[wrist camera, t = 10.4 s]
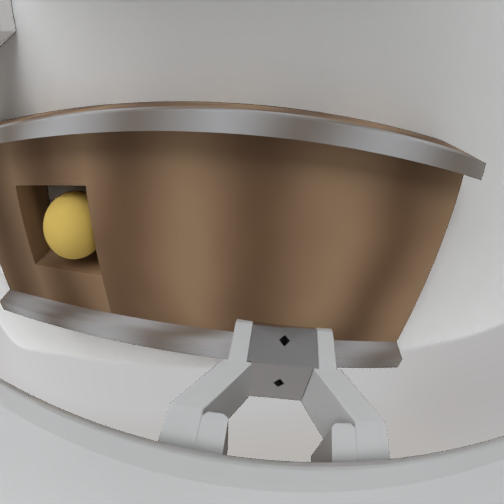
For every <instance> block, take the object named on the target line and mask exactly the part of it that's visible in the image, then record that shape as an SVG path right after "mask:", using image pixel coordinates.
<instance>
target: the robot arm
mask: <svg viewBox="0 0 504 504" xmlns="http://www.w3.org/2000/svg"><path fill="white" fill-rule="evenodd" d="M248 396H257V397H270V398H280V399H290V400H300V401H301V402H302V404H303V406H304V407H305V409H306V411H307V412H308V414H309V416H310V417H311V419H312V421H313V422H314V424H315V426H316V427H317V429H318V431H319V432H320V434H321V435H322V437H323V441H322V442H321V444H320V445H319V446H318V447H317V449H316V450H315V451H314V453H313V454H312V456H311V462H290V461H274V460H263V459H262V460H261V459H253V458H244V457H236V456H228V455H227V450H228V419H229V418H230V417H231V416H232V415H233V414H234V413H235V412H236V410H237V409H238V408H239V407H240V406H241V405H242V404H243V403H244V402H245V400H246V399H247V398H248ZM0 504H504V436H501V437H498V438H494V439H492V440H488V441H484V442H480V443H477V444H473V445H469V446H465V447H460V448H456V449H451V450H446V451H441V452H436V453H430V454H425V455H418V456H411V457H403V458H395V459H390V452H389V444H388V436H387V429H386V422H385V420H384V419H383V418H382V417H381V416H380V414H379V413H378V412H377V411H376V410H375V409H374V407H373V406H372V405H371V404H370V403H369V402H368V401H367V399H366V398H365V397H364V396H363V395H362V393H361V392H360V391H359V390H358V389H357V388H356V386H354V384H353V383H352V382H351V381H350V380H349V378H348V377H347V376H346V375H345V374H344V372H343V371H342V370H337V365H336V355H335V346H334V337H333V331H332V329H327V328H314V327H302V326H290V325H279V324H271V323H264V322H257V321H248V320H241V319H237V321H236V323H235V328H234V333H233V337H232V342H231V347H230V352H229V357H228V359H222V360H221V361H220V362H219V363H218V364H217V365H215V366H214V367H213V368H212V369H211V370H209V371H208V372H207V373H206V374H205V375H203V376H202V377H201V378H200V379H199V380H197V381H196V382H195V383H194V384H193V385H191V386H190V387H189V388H188V389H186V390H185V391H184V392H183V393H181V394H180V395H179V396H178V397H177V398H175V399H174V400H173V401H172V402H170V405H169V408H168V411H167V414H166V417H165V420H164V423H163V427H162V430H161V433H160V436H159V440H158V441H154V440H150V439H146V438H143V437H139V436H136V435H132V434H129V433H126V432H123V431H119V430H116V429H113V428H110V427H107V426H104V425H102V424H98V423H96V422H93V421H90V420H88V419H85V418H83V417H80V416H77V415H75V414H72V413H70V412H68V411H65V410H63V409H61V408H58V407H56V406H53V405H51V404H49V403H47V402H45V401H43V400H41V399H39V398H36V397H34V396H32V395H30V394H28V393H26V392H24V391H22V390H21V389H19V388H17V387H15V386H13V385H11V384H9V383H7V382H5V381H4V380H2V379H0Z"/></svg>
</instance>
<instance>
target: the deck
mask: <svg viewBox="0 0 504 504" xmlns="http://www.w3.org/2000/svg"><path fill="white" fill-rule="evenodd" d="M485 165H486V163H484V162H482V161H481V160H479V159H477V158H475V157H473V156H471V155H469V154H468V153H466V152H464V151H462V150H460V149H458V148H456V147H454V146H452V145H450V144H448V143H446V142H444V141H442V140H439V139H436V138H432V137H429V136H425V135H422V134H418V133H415V132H411V131H407V130H403V129H399V128H395V127H391V126H387V125H383V124H378V123H374V122H369V121H365V120H360V119H355V118H350V117H344V116H339V115H333V114H327V113H321V112H314V111H307V110H300V109H292V108H284V107H275V106H265V105H253V104H240V103H222V102H139V103H122V104H109V105H98V106H88V107H80V108H72V109H64V110H58V111H51V112H45V113H39V114H34V115H29V116H24V117H19V118H14V119H9V120H5V121H1V122H0V264H1V267H2V270H3V272H4V275H5V278H6V280H7V283H8V285H9V288H10V290H9V291H8V292H7V294H6V295H5V296H4V297H3V298H2V299H1V301H0V303H1V305H2V307H3V309H4V310H7V311H10V312H13V313H16V314H19V315H22V316H25V317H28V318H32V319H35V320H38V321H42V322H45V323H48V324H52V325H55V326H59V327H63V328H66V329H70V330H74V331H78V332H82V333H85V334H90V335H94V336H98V337H102V338H106V339H111V340H115V341H120V342H125V343H129V344H134V345H139V346H145V347H150V348H155V349H161V350H167V351H172V352H179V353H185V354H191V355H198V356H205V357H213V358H220V359H228V357H229V352H230V347H231V342H232V337H233V333H234V328H235V323H236V321H237V319H241V320H248V321H257V322H264V323H271V324H279V325H290V326H302V327H314V328H327V329H332V331H333V337H334V346H335V355H336V365H337V367H342V368H389V367H391V368H392V367H398V365H399V364H400V362H401V360H402V357H401V354H400V351H399V348H398V345H397V340H398V338H399V336H400V334H401V332H402V330H403V328H404V326H405V325H406V323H407V321H408V319H409V317H410V315H411V313H412V311H413V308H414V306H415V304H416V302H417V300H418V298H419V296H420V294H421V291H422V289H423V287H424V285H425V282H426V280H427V278H428V276H429V273H430V271H431V268H432V266H433V264H434V261H435V259H436V256H437V254H438V251H439V248H440V246H441V243H442V241H443V238H444V235H445V232H446V230H447V227H448V224H449V221H450V218H451V215H452V212H453V209H454V206H455V203H456V199H457V196H458V193H459V189H460V186H461V183H462V179H463V175H466V176H470V177H473V178H476V179H479V180H482V176H483V173H484V169H485ZM47 185H75V186H86V192H87V199H88V206H89V213H90V219H91V225H92V231H93V236H94V242H95V247H96V250H95V251H94V252H93V253H91V254H90V255H88V256H86V257H84V258H80V259H67V258H64V257H61V256H59V255H58V254H56V253H55V252H54V251H53V250H52V249H51V248H50V246H49V245H48V243H47V241H46V239H45V236H44V231H43V221H44V216H45V213H46V211H47V209H48V207H49V205H50V202H49V197H48V191H47Z"/></svg>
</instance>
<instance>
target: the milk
mask: <svg viewBox="0 0 504 504" xmlns="http://www.w3.org/2000/svg"><path fill="white" fill-rule="evenodd" d="M15 32H16V28H15V23H14V18H13V12H12V6H11V0H0V46H1V45H2V44H3V43H4V42H5V41H6V40H7V39H8V38H9V37H10V36H12V35H13V34H14V33H15Z"/></svg>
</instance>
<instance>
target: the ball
mask: <svg viewBox="0 0 504 504" xmlns="http://www.w3.org/2000/svg"><path fill="white" fill-rule="evenodd" d="M43 231H44V236H45V239H46V241H47V243H48V245H49V246H50V248H51V249H52V250H53V251H54V252H55V253H56V254H58V255H59V256H61V257H64V258H67V259H80V258H84V257H86V256H88V255H90V254H91V253H93V252H94V251H95V250H96V247H95V242H94V236H93V231H92V225H91V219H90V213H89V206H88V199H87V193H84V192H80V191H71V192H66V193H64V194H62V195H60V196H58V197H57V198H56V199H55V200H54V201H53V202H52V203H51V204H50V205H49V207H48V209H47V211H46V213H45V216H44V221H43Z"/></svg>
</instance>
